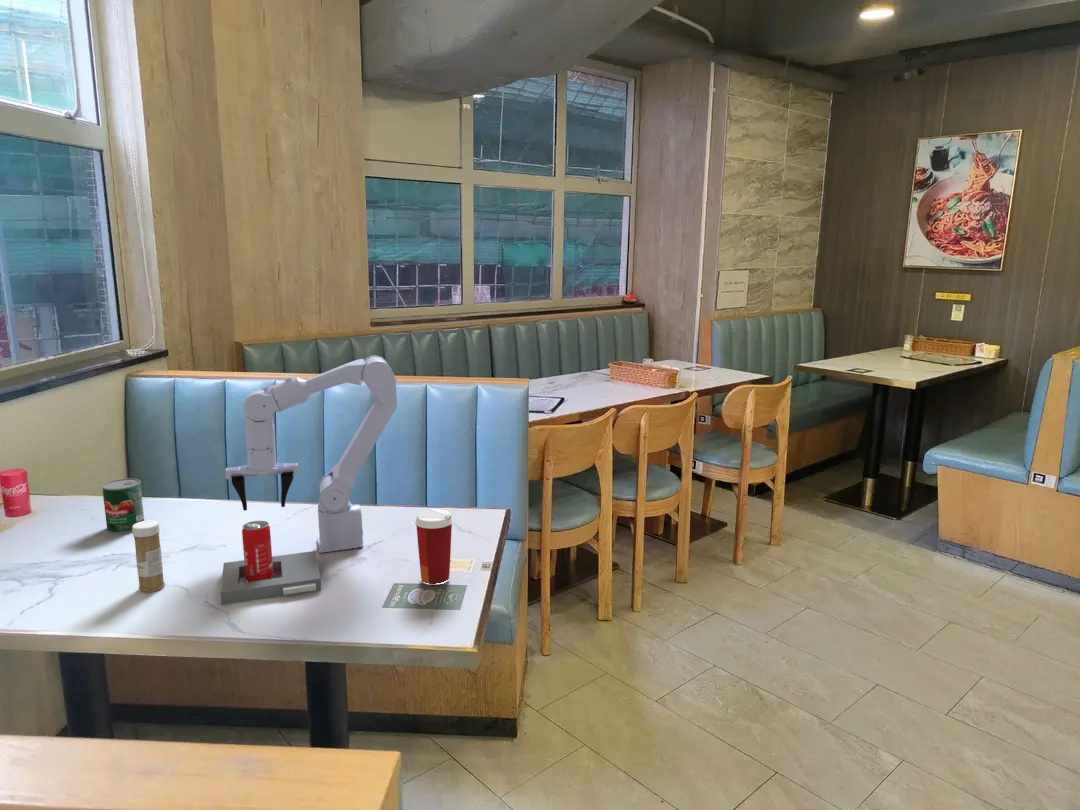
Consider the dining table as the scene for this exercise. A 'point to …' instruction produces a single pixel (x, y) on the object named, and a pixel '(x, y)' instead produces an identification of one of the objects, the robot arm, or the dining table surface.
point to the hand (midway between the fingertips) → (264, 507)
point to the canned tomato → (122, 505)
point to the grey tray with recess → (295, 579)
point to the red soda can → (257, 551)
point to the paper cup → (434, 544)
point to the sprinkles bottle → (148, 555)
